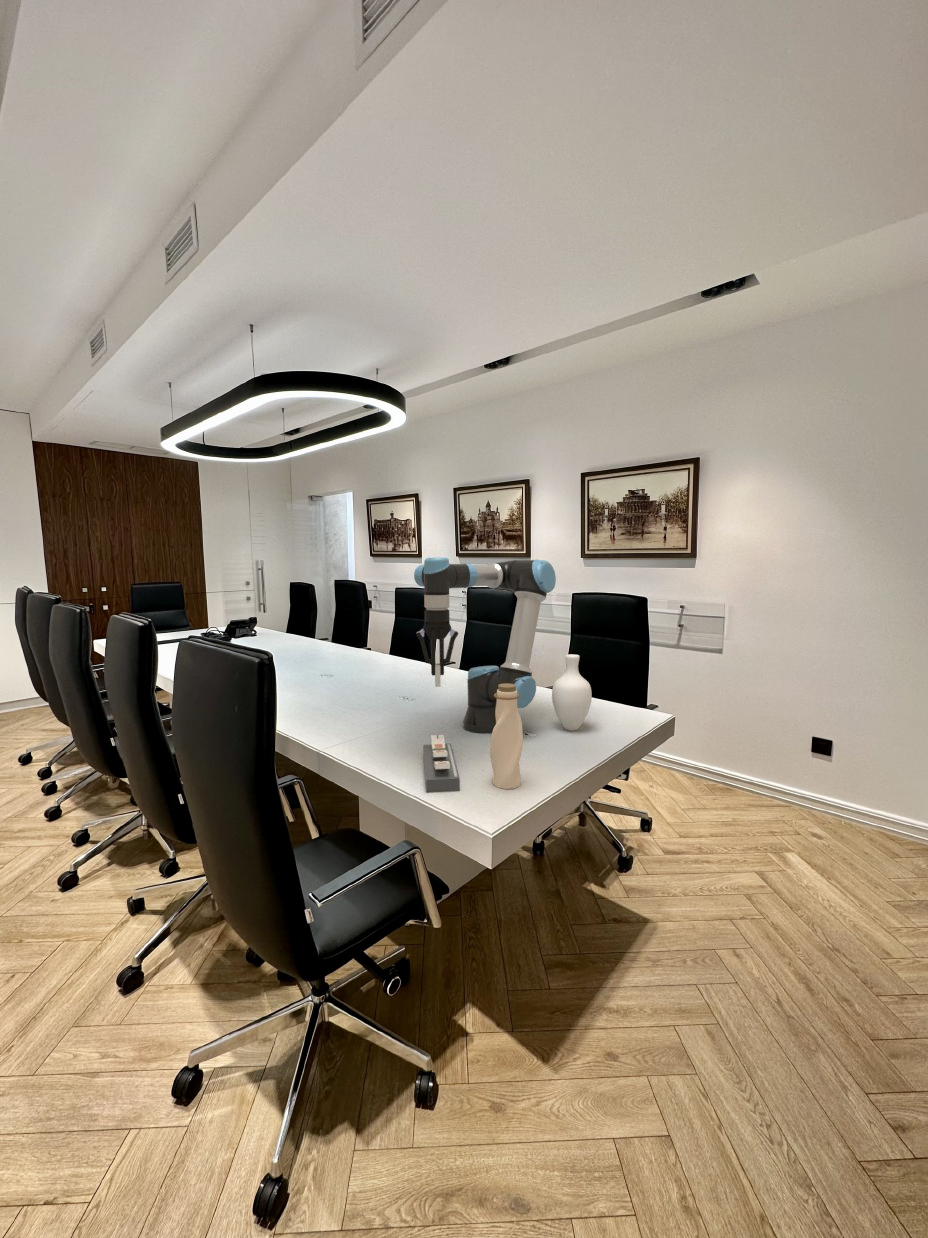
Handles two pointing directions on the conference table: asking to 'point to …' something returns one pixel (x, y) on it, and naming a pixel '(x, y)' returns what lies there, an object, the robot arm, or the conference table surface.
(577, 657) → the vase
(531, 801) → the conference table surface
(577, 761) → the conference table surface
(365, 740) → the conference table surface
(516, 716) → the water bottle
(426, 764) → the power strip
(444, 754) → the rocker
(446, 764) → the rocker
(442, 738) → the rocker
